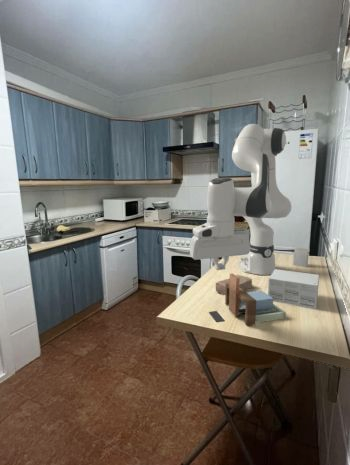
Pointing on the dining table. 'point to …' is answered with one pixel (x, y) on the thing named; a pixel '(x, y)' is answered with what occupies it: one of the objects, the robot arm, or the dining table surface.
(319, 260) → the dining table surface
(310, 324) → the dining table surface
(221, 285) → the brick
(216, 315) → the dark grey flat block
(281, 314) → the green hollow frame
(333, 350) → the dining table surface
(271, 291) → the supplement box
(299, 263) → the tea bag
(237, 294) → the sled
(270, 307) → the block
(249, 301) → the tunnel
